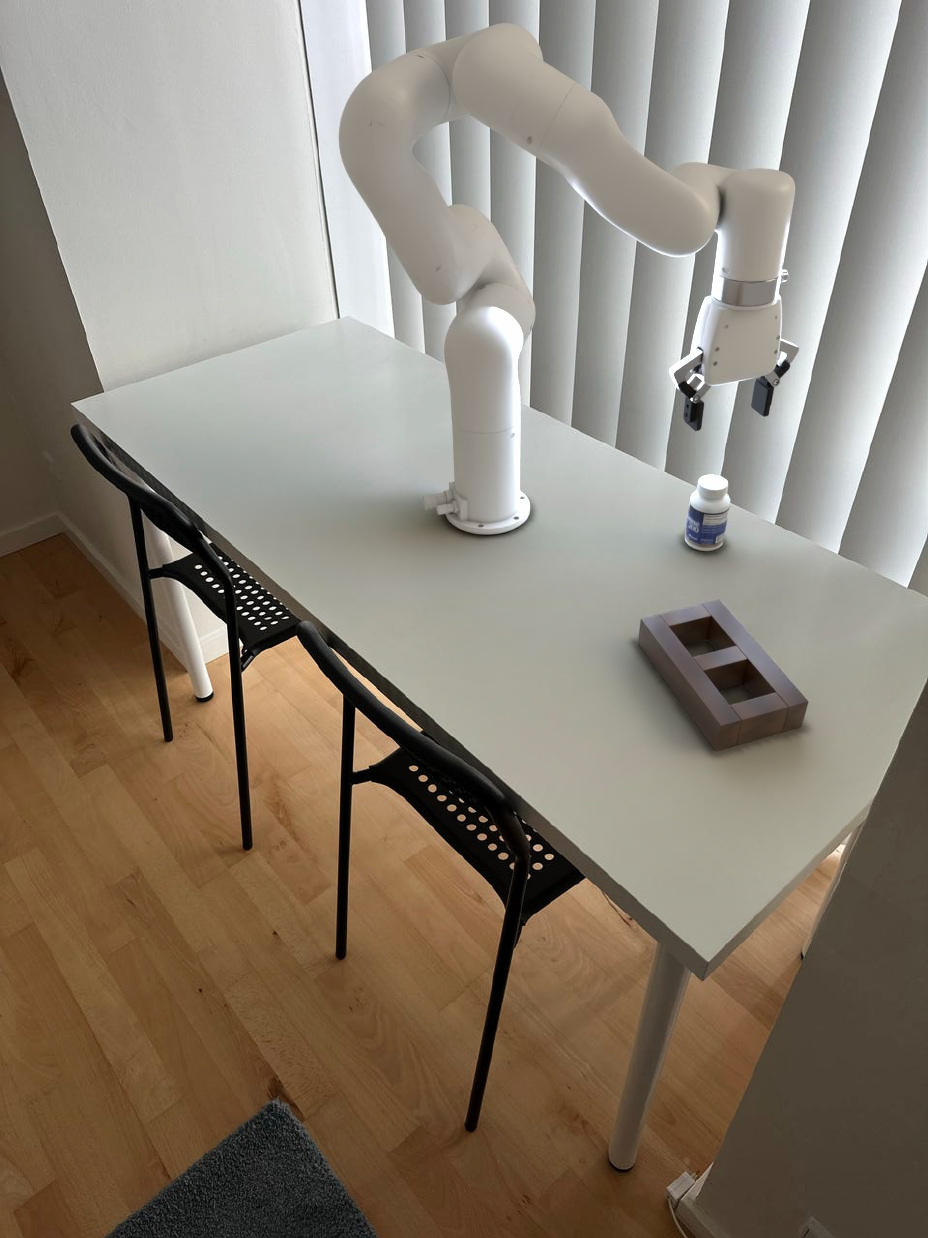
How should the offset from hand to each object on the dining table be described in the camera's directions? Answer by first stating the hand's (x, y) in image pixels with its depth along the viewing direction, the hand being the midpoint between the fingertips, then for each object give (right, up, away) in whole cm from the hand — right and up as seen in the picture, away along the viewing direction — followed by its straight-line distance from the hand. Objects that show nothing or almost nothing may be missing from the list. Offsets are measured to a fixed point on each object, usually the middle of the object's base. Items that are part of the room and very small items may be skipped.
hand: (726, 418), depth 121 cm
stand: (-4, -33, -10) cm, 35 cm away
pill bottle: (0, -15, +13) cm, 19 cm away
